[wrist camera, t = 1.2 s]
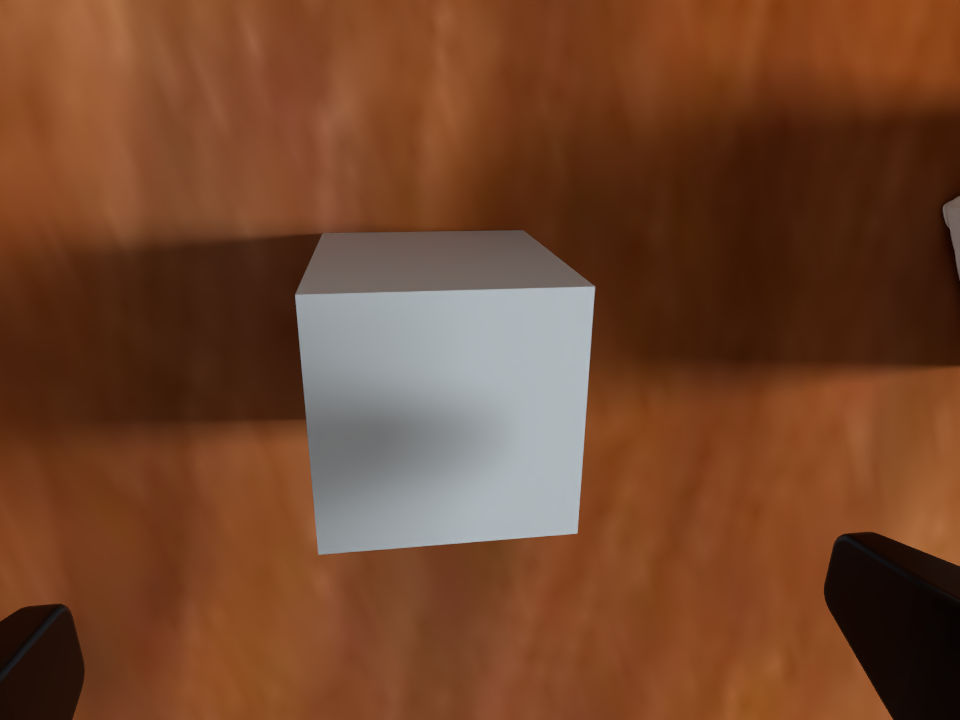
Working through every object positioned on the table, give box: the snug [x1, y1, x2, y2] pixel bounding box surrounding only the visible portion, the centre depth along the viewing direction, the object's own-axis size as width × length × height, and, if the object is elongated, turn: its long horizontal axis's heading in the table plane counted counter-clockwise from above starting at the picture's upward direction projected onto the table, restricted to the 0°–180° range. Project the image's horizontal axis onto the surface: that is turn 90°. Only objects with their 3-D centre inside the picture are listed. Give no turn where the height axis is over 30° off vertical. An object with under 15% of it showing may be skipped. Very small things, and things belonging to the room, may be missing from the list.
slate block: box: [295, 230, 595, 555], centre depth 15 cm, size 5×5×6 cm
